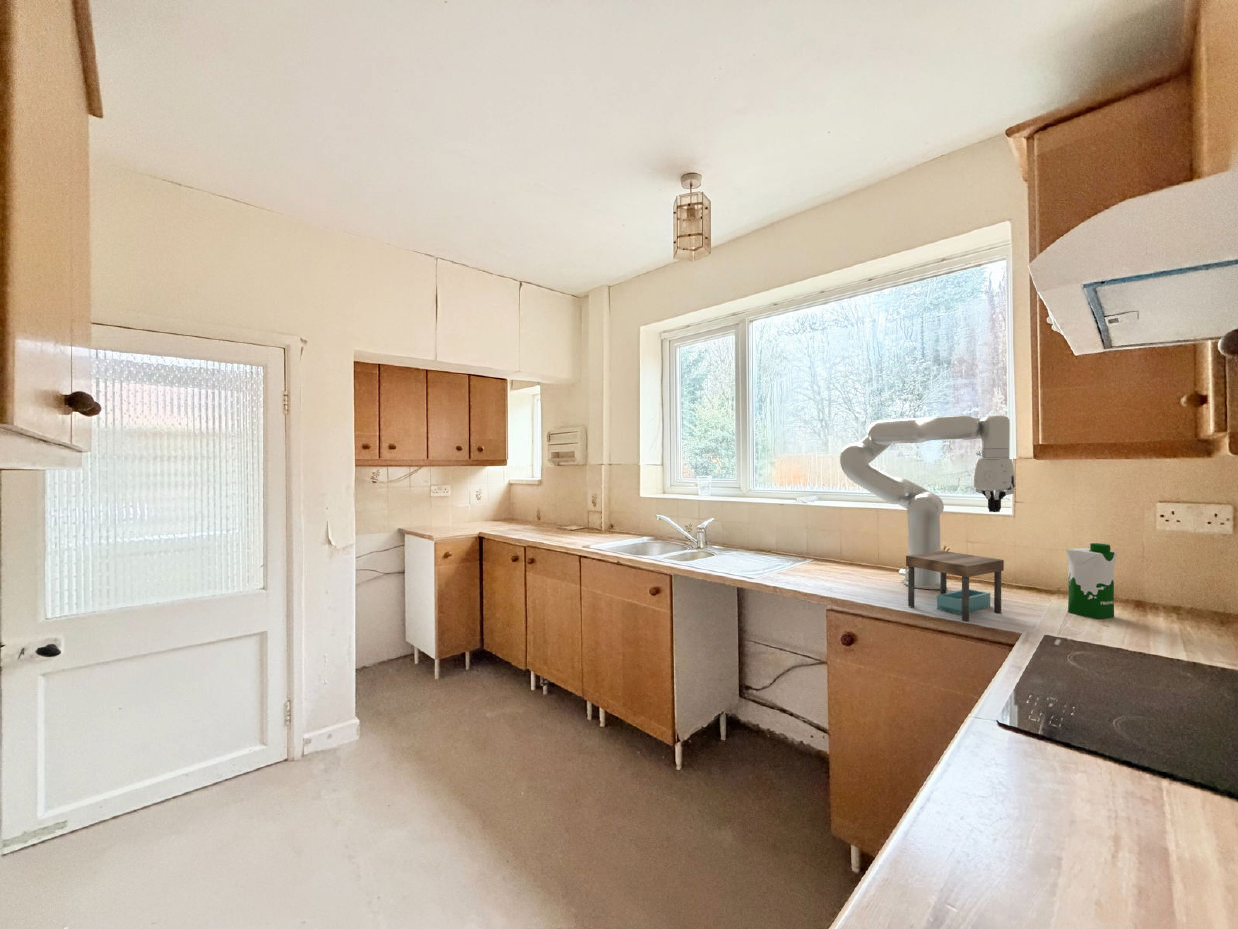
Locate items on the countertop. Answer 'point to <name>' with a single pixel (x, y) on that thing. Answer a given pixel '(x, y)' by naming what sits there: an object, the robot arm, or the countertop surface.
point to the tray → (954, 601)
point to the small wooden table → (956, 573)
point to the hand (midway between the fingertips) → (994, 511)
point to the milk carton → (1091, 581)
